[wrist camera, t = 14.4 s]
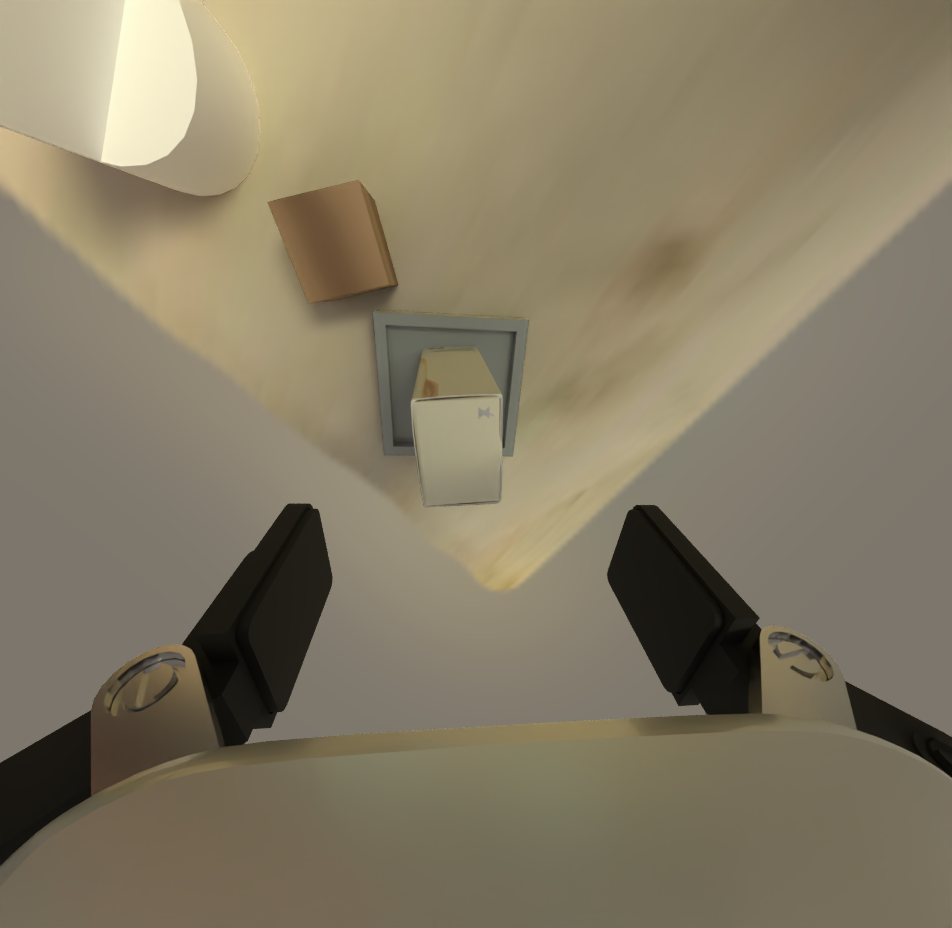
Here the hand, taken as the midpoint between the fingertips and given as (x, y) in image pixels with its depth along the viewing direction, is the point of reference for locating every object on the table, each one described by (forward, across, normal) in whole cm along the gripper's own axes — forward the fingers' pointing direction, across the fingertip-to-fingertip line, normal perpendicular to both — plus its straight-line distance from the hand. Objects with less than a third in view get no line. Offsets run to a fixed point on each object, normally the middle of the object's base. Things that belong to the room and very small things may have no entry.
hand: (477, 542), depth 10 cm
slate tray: (+20, +1, +1) cm, 20 cm away
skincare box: (+19, 0, +1) cm, 19 cm away
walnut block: (+20, +8, -8) cm, 23 cm away
